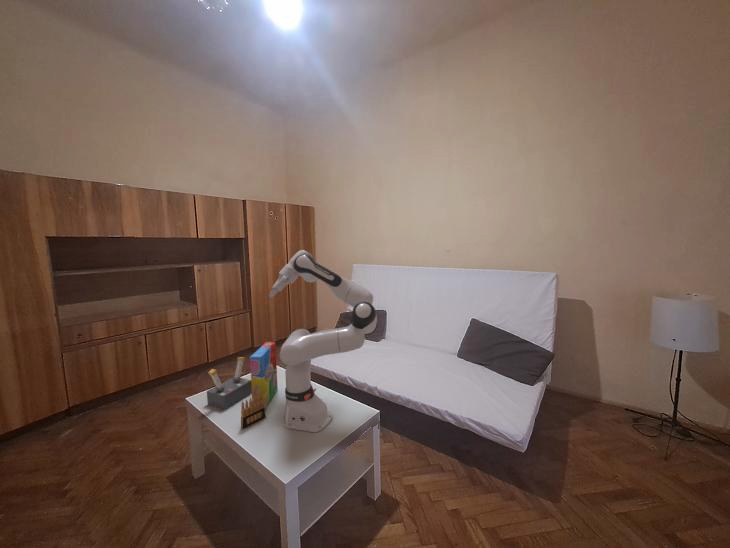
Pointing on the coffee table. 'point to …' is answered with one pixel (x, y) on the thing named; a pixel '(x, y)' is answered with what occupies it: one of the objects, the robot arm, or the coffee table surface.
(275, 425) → the coffee table surface
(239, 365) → the lever
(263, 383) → the game box
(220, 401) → the switch box
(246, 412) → the ammunition clip
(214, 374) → the lever
